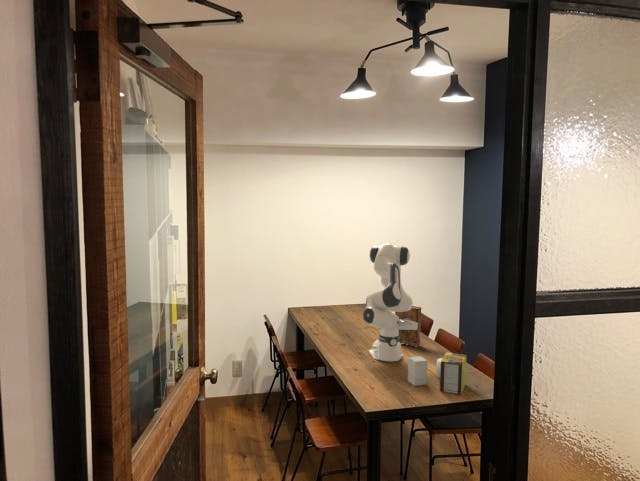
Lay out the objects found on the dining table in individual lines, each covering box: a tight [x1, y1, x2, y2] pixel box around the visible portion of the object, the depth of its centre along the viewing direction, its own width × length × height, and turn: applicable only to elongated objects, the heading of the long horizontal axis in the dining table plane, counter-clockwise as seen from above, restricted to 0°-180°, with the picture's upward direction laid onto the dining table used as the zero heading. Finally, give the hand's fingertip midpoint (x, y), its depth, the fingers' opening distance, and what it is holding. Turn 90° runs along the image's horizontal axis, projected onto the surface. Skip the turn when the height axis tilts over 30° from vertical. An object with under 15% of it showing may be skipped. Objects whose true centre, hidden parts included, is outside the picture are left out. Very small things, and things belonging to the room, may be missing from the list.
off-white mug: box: [436, 357, 443, 380], centre depth 259 cm, size 10×8×9 cm
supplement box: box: [407, 355, 428, 387], centre depth 249 cm, size 7×7×13 cm
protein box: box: [439, 352, 467, 396], centre depth 243 cm, size 10×15×16 cm
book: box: [394, 305, 422, 347], centre depth 314 cm, size 16×6×25 cm, turn 55°
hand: (408, 328), depth 245 cm, fingers open, 8 cm apart
